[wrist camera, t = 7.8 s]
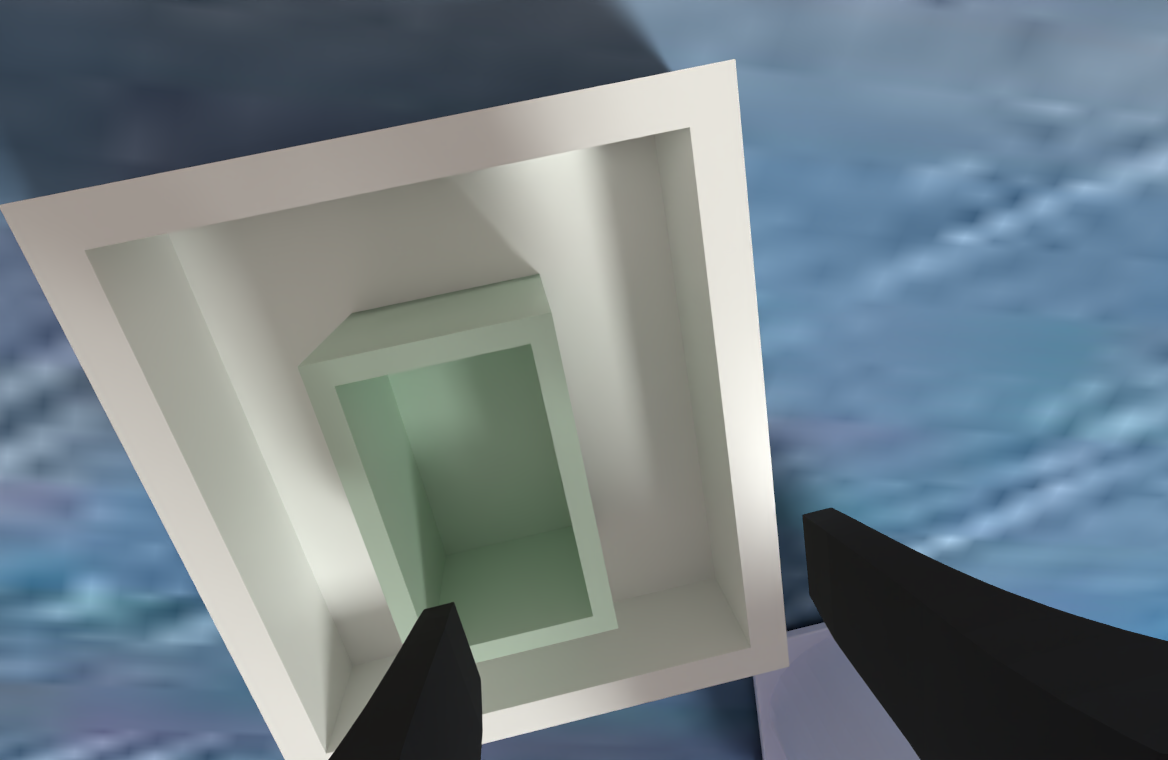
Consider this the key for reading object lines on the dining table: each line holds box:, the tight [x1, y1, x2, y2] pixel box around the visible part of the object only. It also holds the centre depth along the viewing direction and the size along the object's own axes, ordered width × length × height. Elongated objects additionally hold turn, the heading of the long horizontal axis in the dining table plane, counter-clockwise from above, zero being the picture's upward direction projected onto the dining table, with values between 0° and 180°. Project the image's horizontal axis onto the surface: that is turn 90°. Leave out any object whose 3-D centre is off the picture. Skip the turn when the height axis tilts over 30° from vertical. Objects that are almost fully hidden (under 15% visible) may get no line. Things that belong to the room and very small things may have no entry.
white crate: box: [0, 59, 789, 760], centre depth 18 cm, size 18×16×4 cm
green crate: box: [298, 274, 618, 663], centre depth 17 cm, size 9×6×5 cm, turn 11°
